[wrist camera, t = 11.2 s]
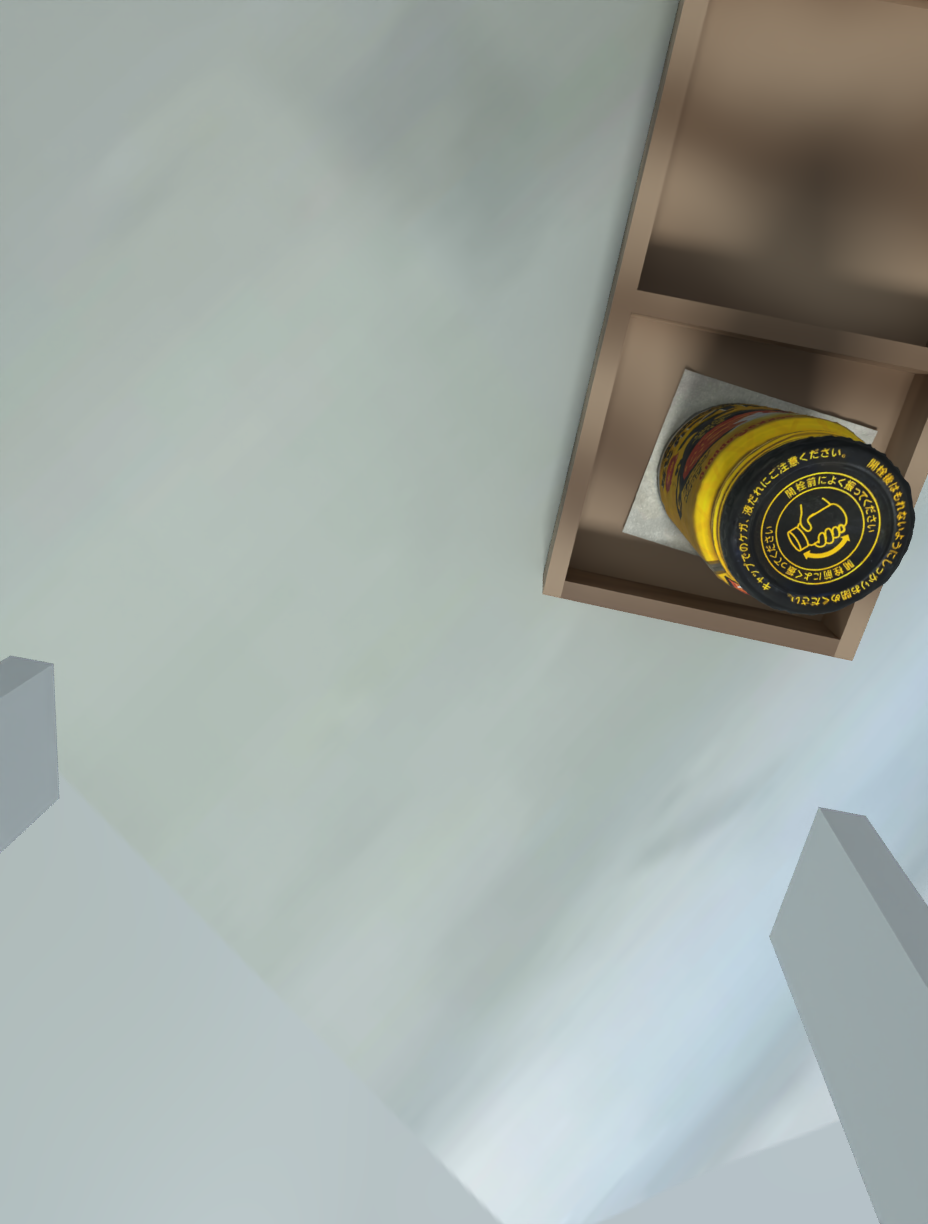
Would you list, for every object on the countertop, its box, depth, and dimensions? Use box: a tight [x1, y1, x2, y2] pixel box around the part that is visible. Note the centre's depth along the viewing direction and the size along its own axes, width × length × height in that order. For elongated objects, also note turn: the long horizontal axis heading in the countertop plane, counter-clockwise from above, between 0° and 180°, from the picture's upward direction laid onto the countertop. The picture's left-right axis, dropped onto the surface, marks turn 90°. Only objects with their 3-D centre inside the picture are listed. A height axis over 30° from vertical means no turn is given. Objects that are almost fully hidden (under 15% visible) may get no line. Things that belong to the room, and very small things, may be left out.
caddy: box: [543, 0, 928, 661], centre depth 29 cm, size 24×14×3 cm, turn 169°
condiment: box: [622, 369, 915, 615], centre depth 27 cm, size 7×8×12 cm
